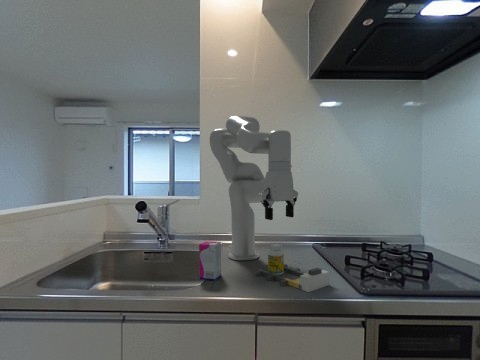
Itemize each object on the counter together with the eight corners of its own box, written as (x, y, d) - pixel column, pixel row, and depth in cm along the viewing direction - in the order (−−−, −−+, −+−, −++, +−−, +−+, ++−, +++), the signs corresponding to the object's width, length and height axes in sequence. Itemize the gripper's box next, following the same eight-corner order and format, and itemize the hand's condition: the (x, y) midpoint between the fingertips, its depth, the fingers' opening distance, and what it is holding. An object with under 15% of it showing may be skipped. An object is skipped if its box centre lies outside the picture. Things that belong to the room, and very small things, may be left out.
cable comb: (252, 274, 103) (252, 258, 103) (282, 266, 111) (282, 252, 111) (302, 294, 85) (302, 275, 85) (334, 283, 93) (334, 266, 93)
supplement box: (221, 275, 102) (221, 241, 102) (215, 281, 97) (215, 245, 97) (206, 273, 104) (205, 240, 104) (198, 279, 98) (198, 244, 98)
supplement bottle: (286, 272, 105) (285, 244, 105) (280, 276, 100) (280, 247, 100) (271, 269, 108) (271, 242, 108) (265, 274, 103) (265, 245, 103)
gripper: (289, 168, 111) (289, 214, 111) (252, 167, 100) (252, 219, 101) (305, 167, 105) (305, 217, 105) (267, 167, 94) (267, 222, 95)
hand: (279, 218), depth 103 cm, fingers open, 9 cm apart
